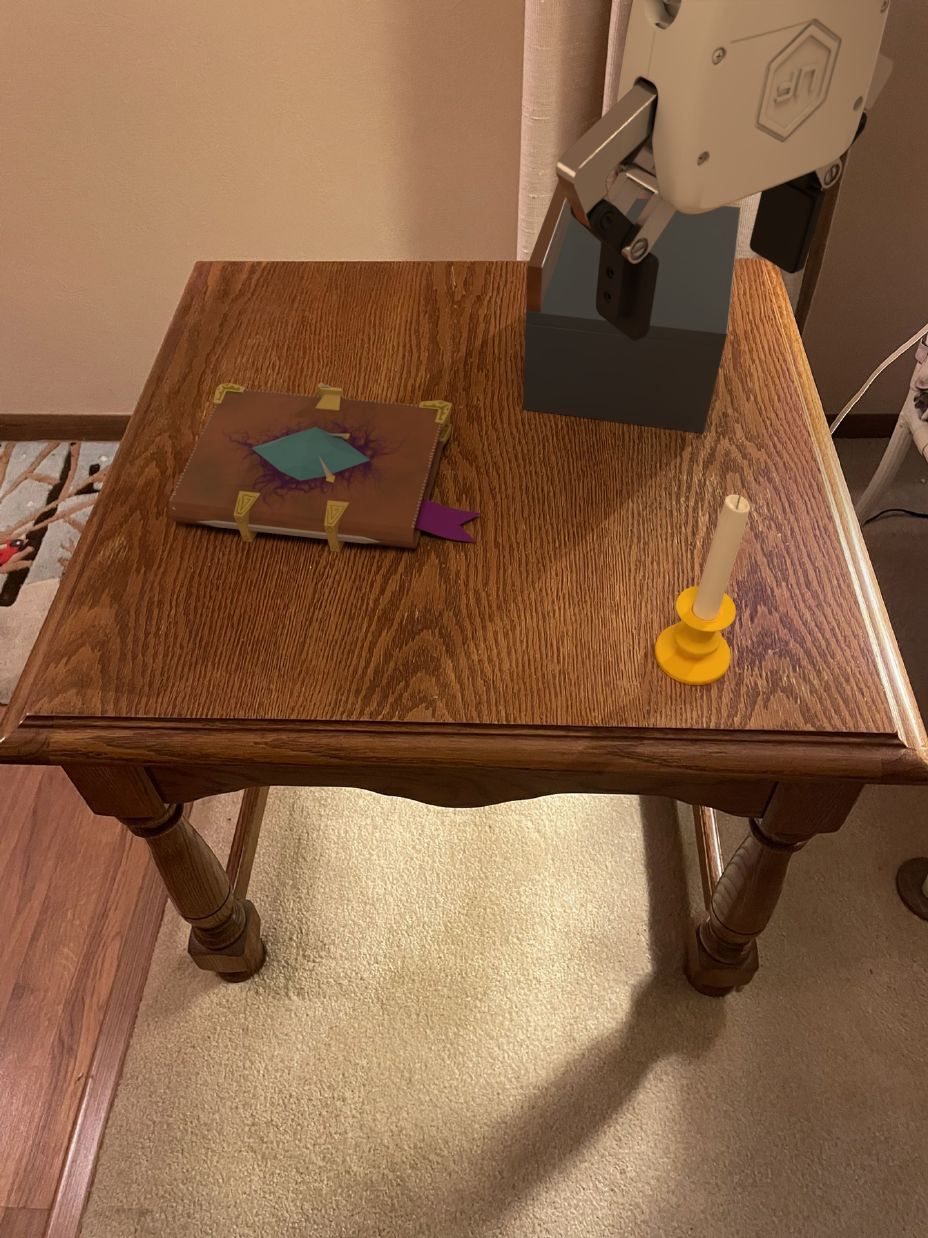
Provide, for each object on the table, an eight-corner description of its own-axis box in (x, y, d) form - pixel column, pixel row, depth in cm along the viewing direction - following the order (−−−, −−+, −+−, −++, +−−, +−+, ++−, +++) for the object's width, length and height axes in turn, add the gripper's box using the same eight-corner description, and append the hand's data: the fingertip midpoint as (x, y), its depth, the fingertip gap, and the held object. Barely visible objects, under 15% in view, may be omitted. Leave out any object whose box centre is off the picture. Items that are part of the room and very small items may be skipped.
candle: (720, 624, 64) (773, 462, 52) (736, 684, 61) (797, 526, 49) (648, 627, 64) (685, 466, 52) (661, 687, 61) (702, 530, 49)
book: (472, 573, 69) (470, 531, 65) (173, 539, 72) (152, 497, 68) (502, 428, 78) (502, 383, 74) (236, 403, 81) (221, 359, 77)
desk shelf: (719, 304, 89) (750, 162, 78) (703, 433, 77) (738, 287, 66) (561, 287, 91) (570, 147, 80) (522, 409, 80) (527, 265, 69)
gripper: (662, -102, 25) (605, 396, 38) (1059, -197, 30) (886, 270, 43) (512, -153, 29) (508, 313, 42) (886, -229, 34) (776, 208, 48)
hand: (700, 291), depth 43 cm, fingers open, 9 cm apart
